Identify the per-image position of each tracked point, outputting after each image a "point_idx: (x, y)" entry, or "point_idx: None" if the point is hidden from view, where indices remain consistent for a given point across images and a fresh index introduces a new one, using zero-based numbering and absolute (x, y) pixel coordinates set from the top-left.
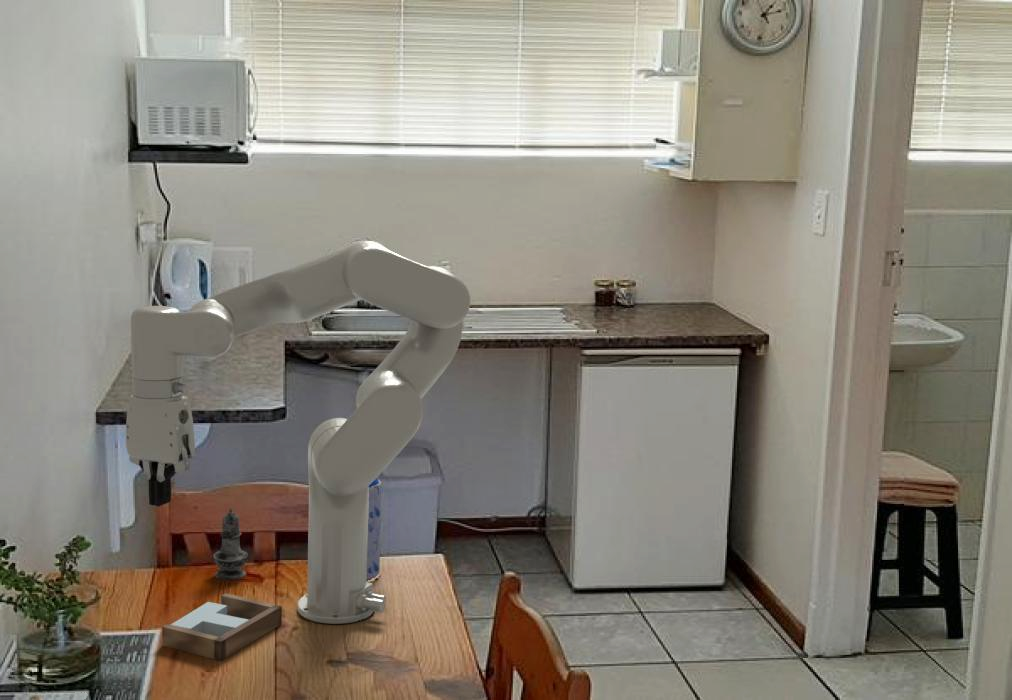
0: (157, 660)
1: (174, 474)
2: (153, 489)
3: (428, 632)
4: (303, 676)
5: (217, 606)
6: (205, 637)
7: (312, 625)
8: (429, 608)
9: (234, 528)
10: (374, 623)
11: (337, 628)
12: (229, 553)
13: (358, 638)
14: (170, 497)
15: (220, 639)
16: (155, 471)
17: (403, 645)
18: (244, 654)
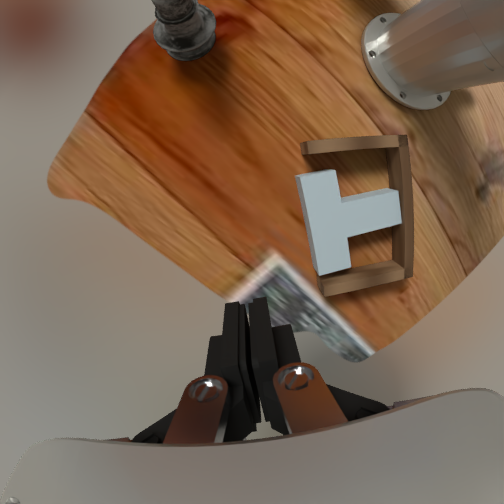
0: (341, 312)
1: (337, 389)
2: (259, 398)
3: None
4: (473, 237)
5: (326, 182)
6: (392, 281)
7: (420, 117)
8: None
9: (189, 2)
10: None
11: (443, 111)
12: (193, 32)
13: (469, 125)
14: (290, 324)
15: (409, 272)
16: (230, 429)
17: (498, 120)
18: None
